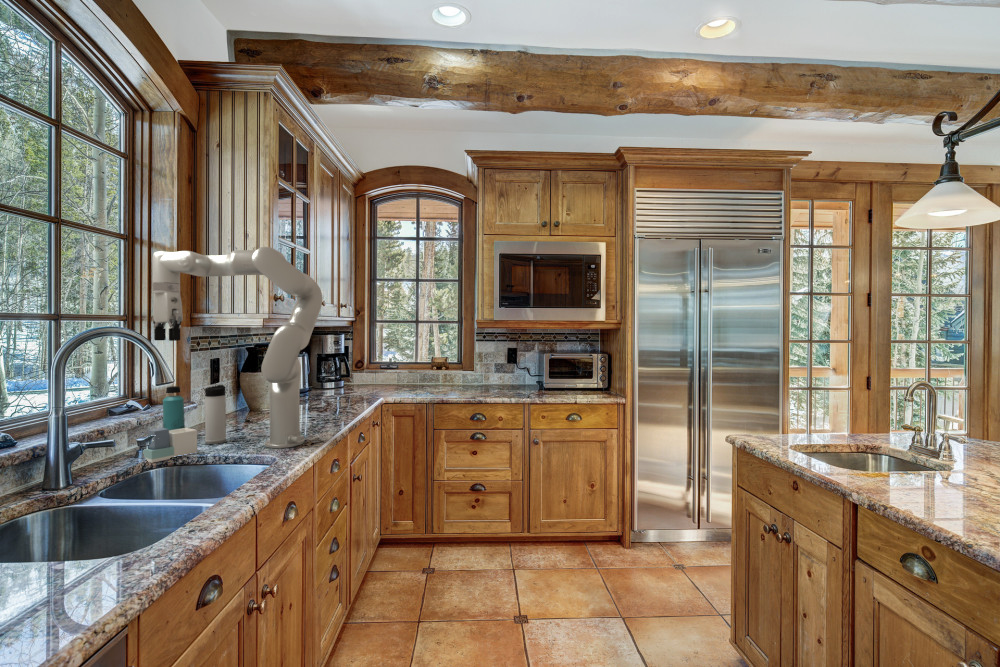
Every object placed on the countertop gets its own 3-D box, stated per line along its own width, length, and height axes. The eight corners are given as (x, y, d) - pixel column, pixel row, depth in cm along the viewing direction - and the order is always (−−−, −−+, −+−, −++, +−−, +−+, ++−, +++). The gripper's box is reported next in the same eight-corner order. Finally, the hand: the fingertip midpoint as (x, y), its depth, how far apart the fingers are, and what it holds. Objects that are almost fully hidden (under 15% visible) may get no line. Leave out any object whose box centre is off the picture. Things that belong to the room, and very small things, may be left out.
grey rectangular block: (169, 454, 150) (168, 429, 150) (154, 457, 147) (154, 431, 146) (162, 453, 152) (162, 427, 152) (148, 456, 149) (147, 430, 149)
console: (197, 453, 156) (197, 430, 156) (151, 462, 145) (151, 437, 145) (186, 450, 159) (186, 427, 159) (141, 459, 148) (140, 435, 148)
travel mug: (230, 440, 173) (230, 385, 173) (218, 445, 166) (217, 387, 166) (214, 440, 174) (213, 384, 173) (201, 444, 167) (200, 387, 167)
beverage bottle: (182, 444, 168) (182, 387, 167) (160, 446, 165) (159, 387, 165) (187, 440, 174) (186, 385, 173) (165, 442, 171) (164, 385, 171)
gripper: (192, 288, 160) (192, 340, 160) (166, 291, 169) (166, 339, 169) (167, 287, 153) (167, 341, 153) (141, 289, 162) (142, 340, 162)
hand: (167, 340), depth 161 cm, fingers open, 9 cm apart
